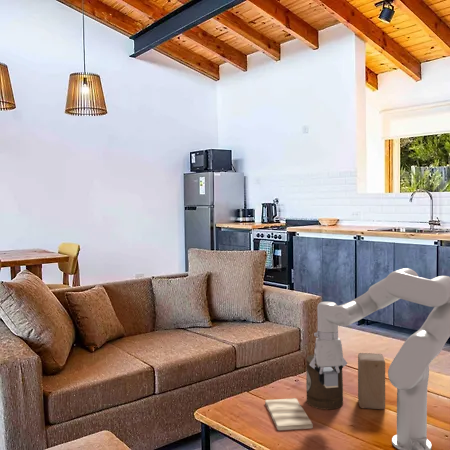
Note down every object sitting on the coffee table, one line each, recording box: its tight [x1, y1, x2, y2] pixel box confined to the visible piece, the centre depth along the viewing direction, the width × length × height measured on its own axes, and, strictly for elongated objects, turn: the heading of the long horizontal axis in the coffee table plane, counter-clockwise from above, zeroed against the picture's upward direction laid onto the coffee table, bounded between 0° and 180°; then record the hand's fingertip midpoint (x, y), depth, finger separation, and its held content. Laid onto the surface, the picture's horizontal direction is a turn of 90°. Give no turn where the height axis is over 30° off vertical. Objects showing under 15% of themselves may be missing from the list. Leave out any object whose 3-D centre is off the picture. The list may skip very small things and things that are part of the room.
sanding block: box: [323, 367, 338, 388], centre depth 187 cm, size 8×4×5 cm, turn 6°
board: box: [264, 398, 314, 431], centre depth 194 cm, size 24×13×2 cm, turn 6°
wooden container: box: [305, 354, 344, 410], centre depth 205 cm, size 15×15×22 cm
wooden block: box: [357, 352, 386, 410], centre depth 202 cm, size 10×10×20 cm
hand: (328, 382), depth 188 cm, fingers closed on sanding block, 4 cm apart
